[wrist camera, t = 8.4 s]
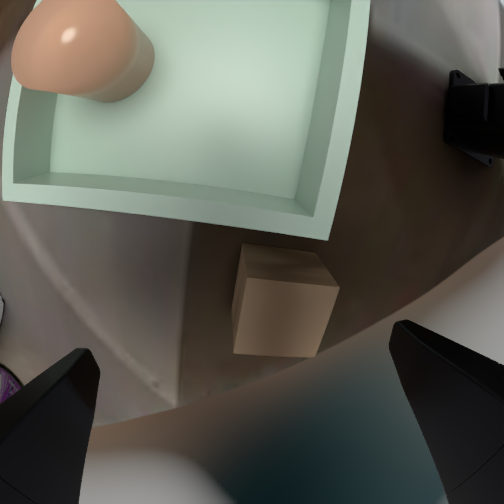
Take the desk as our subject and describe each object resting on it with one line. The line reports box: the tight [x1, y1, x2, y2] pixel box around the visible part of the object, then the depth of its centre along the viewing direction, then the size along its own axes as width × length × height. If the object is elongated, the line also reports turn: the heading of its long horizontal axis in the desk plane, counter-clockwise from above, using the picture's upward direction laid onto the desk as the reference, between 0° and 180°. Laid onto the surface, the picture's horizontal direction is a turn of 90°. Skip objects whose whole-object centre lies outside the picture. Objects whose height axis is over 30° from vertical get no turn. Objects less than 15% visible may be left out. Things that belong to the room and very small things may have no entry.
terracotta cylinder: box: [11, 0, 155, 103], centre depth 9 cm, size 5×5×7 cm
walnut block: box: [232, 243, 340, 357], centre depth 18 cm, size 5×5×5 cm
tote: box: [2, 0, 370, 241], centre depth 12 cm, size 18×16×5 cm
